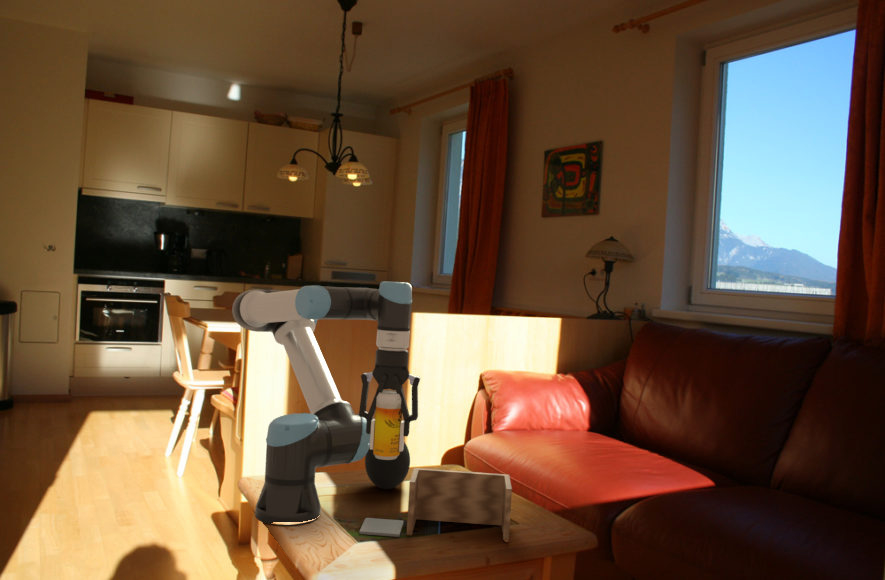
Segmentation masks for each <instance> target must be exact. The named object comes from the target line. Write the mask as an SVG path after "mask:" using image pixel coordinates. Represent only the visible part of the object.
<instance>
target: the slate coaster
mask: <svg viewBox="0 0 885 580" xmlns="http://www.w3.org/2000/svg"><path fill="white" fill-rule="evenodd" d="M403 525H404V520H400V519H390V518H389V519H388V518H387V519H385V518H377V517H376V518H374V517H365V519H364V520H363V522H362V525H361V527H360V529H359V532H358V533H359V535H370V536H382V537H383V536H385V537H395V538H396V537H397V538H400V535H401V533H402V529H403Z"/></svg>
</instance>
